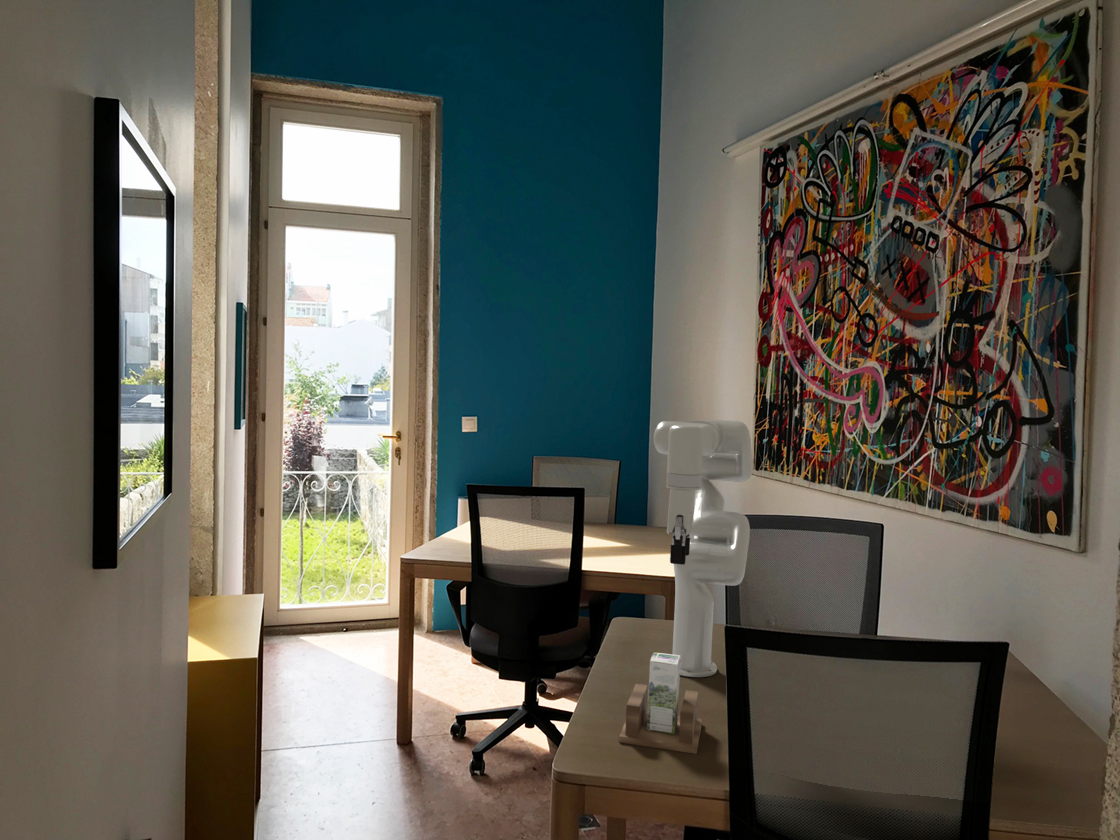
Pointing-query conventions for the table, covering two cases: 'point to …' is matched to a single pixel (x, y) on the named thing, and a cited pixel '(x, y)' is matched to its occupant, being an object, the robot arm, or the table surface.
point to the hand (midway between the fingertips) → (679, 559)
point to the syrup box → (663, 693)
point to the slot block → (639, 735)
